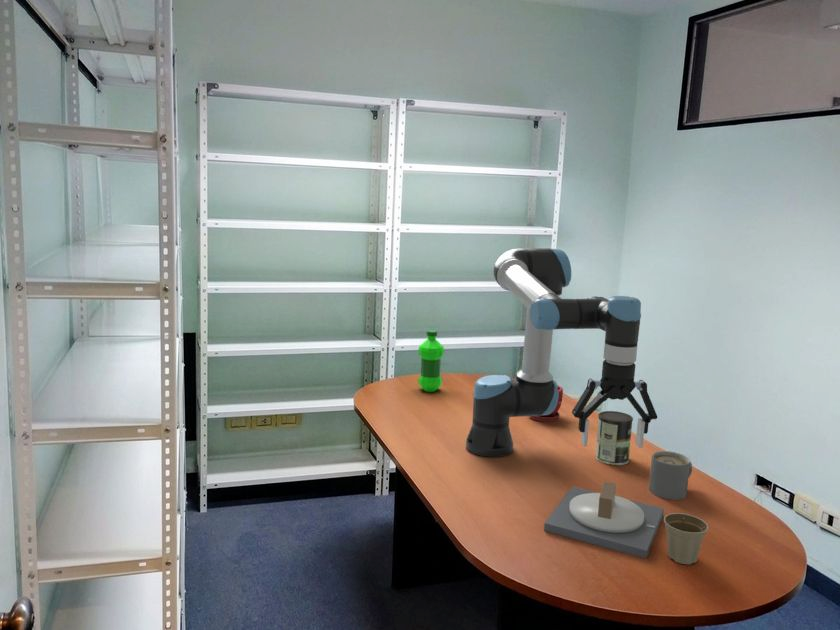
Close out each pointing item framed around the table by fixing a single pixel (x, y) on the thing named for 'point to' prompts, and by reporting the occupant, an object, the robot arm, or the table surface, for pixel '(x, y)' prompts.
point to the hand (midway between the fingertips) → (611, 445)
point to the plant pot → (554, 414)
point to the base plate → (623, 542)
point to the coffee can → (613, 437)
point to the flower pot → (684, 536)
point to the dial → (606, 511)
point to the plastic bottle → (430, 362)
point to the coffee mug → (669, 475)
